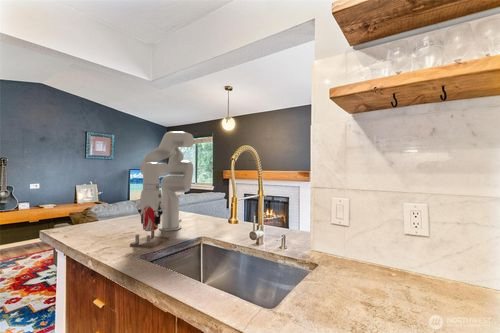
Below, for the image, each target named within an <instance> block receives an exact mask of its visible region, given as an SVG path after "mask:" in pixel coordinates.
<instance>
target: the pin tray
mask: <svg viewBox="0 0 500 333" xmlns="http://www.w3.org/2000/svg"><path fill="white" fill-rule="evenodd" d="M160 232H161V233H160V234H161V235H160V236H159V235H155V231H150V235H146V236H145V237H142V238H140V234H138V233H137V234H135V236H134V237H135V238H134V239H135V240H134V241H133V242H130V243H129V246H130V247H134V248H135V247H137V248H143V249H145V248H146V249H154V248H157V247H158V246H160V245H162V244H164V243H166V242H168V241H169V240H170V237H168V236H166V235H165V234H166V231H165V229H162V230H160Z"/></svg>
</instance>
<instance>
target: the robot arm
mask: <svg viewBox="0 0 500 333" xmlns="http://www.w3.org/2000/svg"><path fill="white" fill-rule="evenodd" d="M194 143H195V139H194V136H193V134H192V133H189V132H186V131H168V132H166V133H164V135H163V137H162V139H161V141H160V143H159V145H158V147H157V148H155V149H153V150H151V151H150V152H149V153H147V154H146V155H145V157H144V158H143V160H142V162H141V164H140V168H139V171H140V174H141V175H142V189H141V193H140V199H139V204H137V205H136V206H135V209H136V211H137V212H138V213H139V215H140V224H142V225H143V209H144V208H145V206H151V208H152V209H153V211H155V214H156V217H155V225H158V228H159V230H160V231H161V230H162V229H165V232H172V231H178V230H180V229H182V225H181V224H180V223H181V222H182V219H181V218H180V197H179V196H178V194H177V193H188V192H189V191H190V190H191V187H192V181H193V176H194V164H193V162H192V161H190V160H184V154H183V152H182V150H181V149H179V148H192V147H193V146H194ZM165 159H168V162H167V163H166V162H165V161H164V162H162V160H165ZM160 178H161V180H160ZM161 216H162V218H161ZM159 225H160V226H159Z"/></svg>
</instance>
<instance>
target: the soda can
mask: <svg viewBox="0 0 500 333" xmlns="http://www.w3.org/2000/svg"><path fill="white" fill-rule="evenodd" d="M155 217H156V214H155V211H153V209H152V208H151V206H145V208H144V209H143V224H142V229H143V231H145V232H151V231H154V232H156V231H157V229H158V228H159V224H158V225H155Z"/></svg>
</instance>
